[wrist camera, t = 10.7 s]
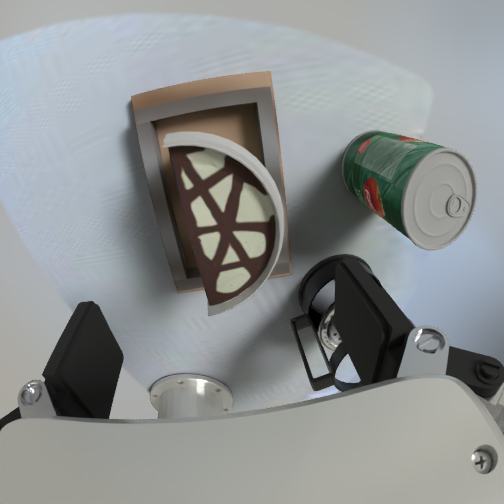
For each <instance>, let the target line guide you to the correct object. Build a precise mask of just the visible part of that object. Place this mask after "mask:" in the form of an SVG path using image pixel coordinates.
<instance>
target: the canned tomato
mask: <svg viewBox="0 0 504 504" xmlns="http://www.w3.org/2000/svg"><path fill="white" fill-rule="evenodd" d="M341 169H342V178H343V181H344V184H345V186H346V188H347V190H348V191H349V193H350V194H351V195H352V196H353V197H354V198H355V199H356V200H358V201H360V202H362V203H363V204H364V205H365V206H367V207H368V208H370V209H371V210H372V211H374V212H375V213H376V214H378V215H379V216H380V217H382V218H383V219H384V220H386V221H387V222H388V223H389V224H391V225H392V226H393V227H395V228H396V229H397V230H398V231H400V232H401V233H402V234H403V235H405V236H406V237H408V238H409V239H410V240H411V241H412V242H413V243H414V244H415V245H417V246H418V247H420V248H422V249H425V250H438V249H441V248H444V247H446V246H448V245H450V244H451V243H452V242H454V241H455V240H456V239H457V238H458V237H459V236H460V235H461V234H462V233H463V231H464V230H465V229H466V227H467V225H468V223H469V221H470V220H471V218H472V215H473V212H474V209H475V205H476V199H477V181H476V176H475V173H474V170H473V167H472V165H471V164H470V162H469V160H468V159H467V158H466V157H465V156H464V155H463V154H462V153H460V152H459V151H457V150H455V149H451V148H446V147H443V146H440V145H436V144H433V143H429V142H425V141H422V140H418V139H413V138H409V137H405V136H401V135H397V134H392V133H387V132H384V131H379V130H373V131H367V132H364V133H362V134H360V135H358V136H357V137H356V138H355V139H354V140H352V142H351V143H350V144H349V146H348V147H347V149H346V151H345V153H344V156H343V160H342V168H341Z"/></svg>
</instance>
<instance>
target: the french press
mask: <svg viewBox="0 0 504 504" xmlns="http://www.w3.org/2000/svg"><path fill="white" fill-rule="evenodd" d="M351 258H356V259H357V260H358V261H359V263H360V264H361V265H362V266H363V267H364V269H365V270H366V271H367V272H368V273H369V275H370V276H371V277H372V278H373V279H374V281H375V282H376V283H377V284H378V285H379V287H382V286H381V284H380V282H379V280H378V279H377V278H376V276H375V275H374V274H373V273H372V270H371V268H370V266H369V265H368V264H367V263H366V262H365V261H364V260H363V259H361V258H360V257H357V256H354V255H349V254H341V255H335V256H332V257H329V258H327V259H325V260H323V261H321V262H320V263H318V264H317V265H315V266H314V267H313V268H312V269H311V270H310V271H309V272H308V274H307V275H306V276H305V278H304V280H303V282H302V284H301V286H300V290H299V302H300V306H301V308H302V310H303V312H304V313H305V314H304V315H301V316H298V317H295V318H293V319H291V326H292V329H293V332H294V335H295V338H296V341H297V344H298V347H299V350H300V353H301V356H302V359H303V362H304V366H305V369H306V372H307V375H308V378H309V381H310V384H311V386H312V389H313V390H314V391H319V390H322V389H324V388H327V387H330V386H332V385H335V387H336V388H337V389H338V390H339V391H342V392H344V391H348V390H352V389H356V388H359V387H363V383H362V381H360V382H359V383H345V382H341V381H339V380H337V379H336V378H335V373H336V370H337V368H338V366H339V364H340V362H341V361H342V360H343V358H344V357H345V356H346V355H347V354H348V352H347V350H346V348H345V346H344V344H343V342H342V340H341V338H340V336H339V334H338V332H337V330H336V328H335V325H334V305H335V301H334V302H333V303H332V304H331V305H330V306H329V308H328V309H327V310H326V311H325V313H321V312H319V311H317V310H316V309H315V308H314V307H313V306H312V301H313V300H314V298H315V296H316V295H317V293H318V292H319V291H320V290H321V289H322V288H323V287H324V286H325V285H326V284H327V283H329V282H330V281H332V280H333V279H334V280H335V269H336V265H340V261H341V260H346V259H351ZM382 288H383V287H382ZM383 289H384V288H383ZM384 290H385V289H384ZM385 291H386V290H385ZM389 296H390V295H389ZM393 301H394V300H393ZM408 320H409V319H408ZM409 321H410V320H409ZM410 322H411V321H410ZM411 323H412V322H411ZM412 325H413V326H414V327H415V325H414V324H413V323H412ZM309 326H311V328H312V330H313V333H314V335H315V338H316V340H317V343H318V345H319V348H320V350H321V353H322V355H323V358H324V360H325V363H326V365H327V368H328V370H329V373H328V374H326V375H323V376H320V377H318V378H313V376H312V373H311V370H310V367H309V365H308V362H307V359H306V356H305V353H304V350H303V347H302V344H301V341H300V338H299V335H298V332H297V331H298V330H300V329H303V328H306V327H309ZM415 328H416V327H415ZM317 332H318V334H317ZM318 335H319V336H318ZM323 347H324V348H326V349H327V350H329V351H331V352H333V354H332V356H331V358H330V361H328V358H327V356H326V353H325V351H324V348H323Z"/></svg>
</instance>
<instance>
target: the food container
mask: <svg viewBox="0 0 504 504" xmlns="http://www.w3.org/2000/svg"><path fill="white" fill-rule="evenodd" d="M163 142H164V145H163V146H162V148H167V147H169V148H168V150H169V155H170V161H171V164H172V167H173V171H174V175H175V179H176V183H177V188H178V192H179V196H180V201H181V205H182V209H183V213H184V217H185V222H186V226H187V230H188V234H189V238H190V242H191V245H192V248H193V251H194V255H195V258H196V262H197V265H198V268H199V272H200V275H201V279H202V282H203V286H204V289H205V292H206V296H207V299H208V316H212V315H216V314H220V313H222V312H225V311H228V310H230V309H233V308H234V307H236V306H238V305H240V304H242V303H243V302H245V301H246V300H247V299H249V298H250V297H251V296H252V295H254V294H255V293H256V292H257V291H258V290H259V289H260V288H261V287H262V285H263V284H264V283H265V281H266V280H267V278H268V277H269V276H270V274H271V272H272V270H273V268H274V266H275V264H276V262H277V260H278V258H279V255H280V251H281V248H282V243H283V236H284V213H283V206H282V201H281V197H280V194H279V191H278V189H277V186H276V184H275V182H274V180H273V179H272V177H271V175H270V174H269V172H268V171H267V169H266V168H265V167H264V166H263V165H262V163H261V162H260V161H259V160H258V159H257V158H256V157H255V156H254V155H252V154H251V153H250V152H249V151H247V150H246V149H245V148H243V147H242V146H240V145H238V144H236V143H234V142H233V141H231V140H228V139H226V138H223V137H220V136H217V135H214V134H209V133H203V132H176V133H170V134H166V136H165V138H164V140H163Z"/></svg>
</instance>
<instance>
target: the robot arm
mask: <svg viewBox="0 0 504 504" xmlns="http://www.w3.org/2000/svg"><path fill="white" fill-rule="evenodd" d="M334 325H335V328H336V330H337V332H338V334H339V336H340V338H341V340H342V342H343V344H344V346H345V348H346V350H347V352H348V354H349V356H350V358H351V360H352V363H353V365H354V367H355V369H356V371H357V373H358V375H359V377H360V379H361V381H362V383H363V387H359V388H356V389H352V390H348V391H344V392H340V393H337V394H332V395H328V396H324V397H320V398H315V399H311V400H307V401H302V402H297V403H292V404H287V405H282V406H277V407H271V408H265V409H259V410H253V411H246V412H239V413H231V414H227V413H228V412H229V411H230V410H231V409H232V406H233V396H232V393H231V391H230V390H229V389H228V388H227V387H226V386H225V385H224V384H222V383H221V382H219V381H217V380H215V379H212V378H210V377H206V376H202V375H196V374H176V375H171V376H168V377H165V378H162V379H160V380H159V381H157V382H156V383H155V384H154V385H153V386H152V388H151V392H150V400H151V404H152V405H153V406H154V408H155V409H156V410H157V411H158V419H147V420H146V419H145V420H144V419H143V420H125V419H123V420H122V419H109V415H110V411H111V406H112V403H113V398H114V394H115V390H116V386H117V382H118V378H119V374H120V371H121V367H122V363H123V353H122V350H121V349H120V347H119V345H118V343H117V341H116V339H115V337H114V336H113V334H112V332H111V330H110V328H109V326H108V324H107V322H106V320H105V318H104V316H103V314H102V312H101V310H100V307H99V306H98V305H97V304H95V303H94V302H93V301H88V302H81V303H79V304H78V306H77V308H76V309H75V311H74V313H73V315H72V316H71V318H70V320H69V322H68V324H67V326H66V328H65V329H64V331H63V333H62V335H61V337H60V339H59V341H58V343H57V345H56V347H55V349H54V351H53V353H52V355H51V357H50V359H49V361H48V363H47V365H46V367H45V369H44V371H43V374H42V375H43V377H44V378H45V382H42V381H41V380H32V381H30V382H28V383H27V384H26V385H24V386H23V388H22V389H21V390H20V392H19V395H18V405H19V407H18V408H16V409H15V410H13V411H12V412H10V413H9V414H8V415H6V416H5V417H3V418H2V419H0V504H504V367H503V365H502V364H501V363H500V362H499V361H498V360H497V359H495V358H492V357H490V356H485V355H482V354H477V353H474V352H470V351H466V350H462V349H459V348H455V347H451V346H449V339H448V337H447V335H446V334H445V333H444V332H443V331H442V330H440V329H439V328H437V327H434V326H429V325H424V326H419V327H416V328H415V327H414V326H413V325H412V323H411V322H410V321H409V320H408V318H407V317H406V316H405V315H404V313H403V312H402V311H401V309H400V308H399V307H398V306H397V304H396V303H395V302H394V301H393V299H392V298H391V297H390V296H389V294H388V293H387V292H386V291H385V290H384V289H383V288H382V287H379V285H378V284H377V283H376V282H375V281H374V279H373V278H372V277H371V276H370V275H369V273H368V272H367V271H366V270H365V269H364V267H363V266H362V265H361V264H360V263H359V261H358V260H357V259H356V258H351V259H346V260H341V261H340V265H336V269H335V305H334Z"/></svg>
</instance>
